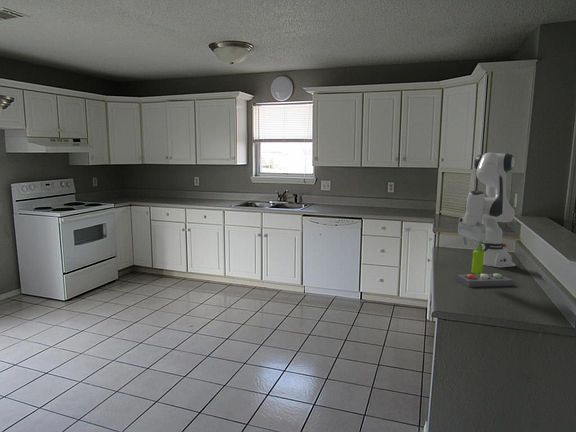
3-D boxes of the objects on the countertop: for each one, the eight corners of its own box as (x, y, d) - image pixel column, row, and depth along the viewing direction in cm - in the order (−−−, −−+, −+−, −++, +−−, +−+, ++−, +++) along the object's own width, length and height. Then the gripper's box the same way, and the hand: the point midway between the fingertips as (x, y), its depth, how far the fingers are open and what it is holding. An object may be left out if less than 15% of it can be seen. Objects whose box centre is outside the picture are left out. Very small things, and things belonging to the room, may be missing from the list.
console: (497, 278, 232) (497, 273, 231) (512, 285, 220) (513, 280, 219) (455, 280, 227) (456, 274, 226) (468, 286, 215) (469, 281, 215)
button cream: (484, 278, 225) (485, 273, 225) (489, 281, 222) (490, 275, 221) (478, 279, 225) (478, 273, 224) (483, 281, 221) (483, 275, 220)
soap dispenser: (485, 274, 239) (488, 241, 236) (472, 273, 240) (475, 240, 237) (482, 272, 245) (485, 239, 242) (470, 271, 246) (473, 238, 243)
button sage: (497, 278, 227) (498, 273, 226) (502, 280, 223) (503, 275, 223) (491, 278, 226) (491, 273, 226) (496, 280, 222) (496, 275, 222)
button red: (471, 279, 224) (472, 273, 223) (476, 281, 220) (476, 276, 220) (465, 279, 223) (465, 274, 223) (469, 281, 219) (470, 276, 219)
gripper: (491, 224, 211) (487, 250, 213) (467, 218, 231) (464, 242, 233) (479, 224, 210) (476, 250, 212) (457, 218, 230) (454, 242, 232)
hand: (469, 246), depth 222 cm, fingers open, 8 cm apart
